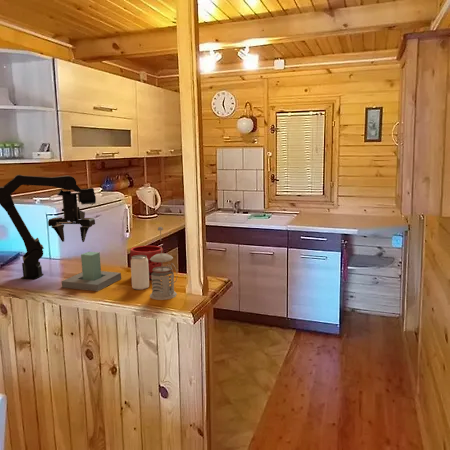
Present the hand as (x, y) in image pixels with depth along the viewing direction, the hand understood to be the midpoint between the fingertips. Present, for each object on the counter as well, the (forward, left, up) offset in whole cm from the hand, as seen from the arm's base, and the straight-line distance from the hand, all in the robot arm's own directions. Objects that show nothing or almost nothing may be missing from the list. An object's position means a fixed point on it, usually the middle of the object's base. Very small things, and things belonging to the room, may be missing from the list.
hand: (73, 241), depth 189 cm
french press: (+48, -26, -13) cm, 56 cm away
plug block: (+15, -15, -13) cm, 25 cm away
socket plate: (+15, -15, -13) cm, 25 cm away
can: (+36, -18, -13) cm, 42 cm away
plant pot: (+34, -4, -13) cm, 37 cm away
